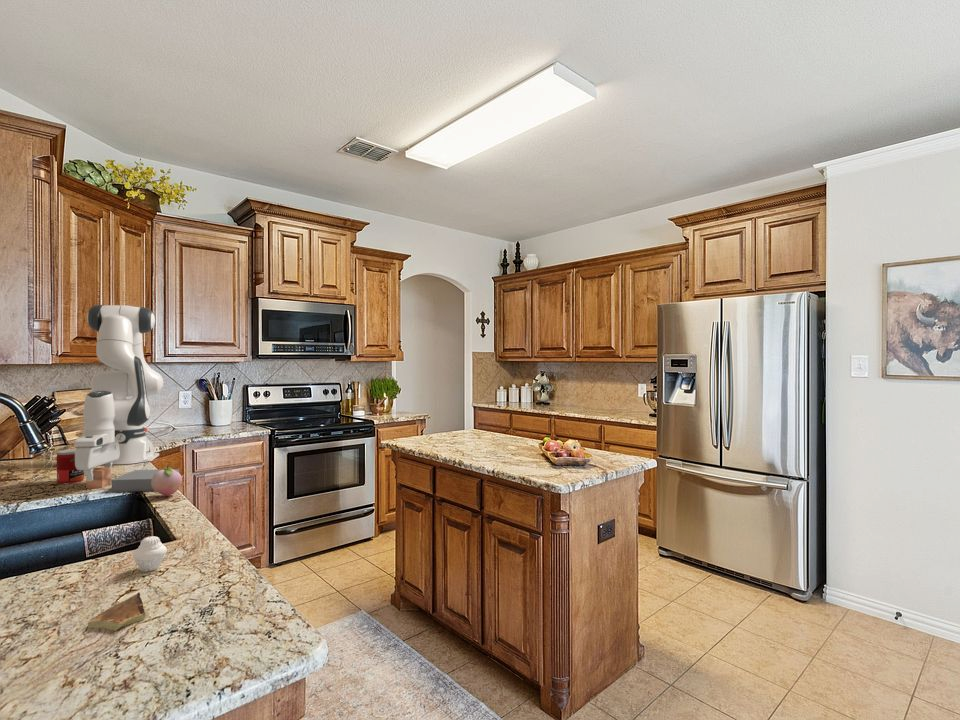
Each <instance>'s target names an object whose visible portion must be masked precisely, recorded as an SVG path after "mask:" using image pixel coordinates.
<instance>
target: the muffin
mask: <svg viewBox="0 0 960 720" xmlns="http://www.w3.org/2000/svg"><path fill="white" fill-rule="evenodd" d="M167 552H168V549H167V547H166V545H164V544H163V543H162V541H161V539H160V537H158V536H154V535H151V536H147V537H144V538H142V540H140V545H139V546H138V548H136V549H135V550H134V552H133V554H132V557H133V559H134V562H135V564H136V565H137V567H138V568H139V569H140V571H141V572H143V573H144V572H152V571H155V570H158V569H159V568H160V566H161V564H162V563H163V561H164V559H165V557H166V554H167Z"/></svg>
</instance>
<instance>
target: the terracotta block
mask: <svg viewBox="0 0 960 720" xmlns="http://www.w3.org/2000/svg"><path fill="white" fill-rule="evenodd" d="M111 469H112V467H111V468H104V467H94V468H93V471H92V472H93V475H95V480H93V481H87V476H86V475H85V480H86V481H85V482H86V483H85V484H86V485H85V486H86V487H85V488H87V489H103V488H106V487H108V486H111V477H112V476H111Z"/></svg>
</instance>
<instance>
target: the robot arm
mask: <svg viewBox="0 0 960 720" xmlns="http://www.w3.org/2000/svg"><path fill="white" fill-rule="evenodd" d="M86 321H87V324H88V327H89V328H90V329H91V330H93V331H95V332H97V339H96V345H95V346H96V347H95V348H96V351H95V352H96V357H97V359H98V360H99V361H100V362H101V363H102V364H104V365H106V366H107V367H109V368H112V369H115V370H109V371H102V372H97V373H96V374H94V375H93V376H92V378H91V381H90V388H91V391H90V392H88V393H87V394H86V395H85V398H84V403H83V412H82V413H83V414H82V415H83V416H82V418H83V420H84V422H83V423H84V425H83V429H82V434H81V435H80V436H79V437H78V438H76V439H75V440H74V443H73V447H75V449H76V450H75V467H76V469H77V470H84V476H85V477H86V476H87V481H93V480H95V475H93V472H92V471H93V469H94V468H98V467H101V466H103V465H104V467H103V468H111V469H112V466H113V465H129V464H137V463H145V462H152V461H153V460H155V459H156V458H158V457H159V456H160V453H159V452H154V443H153V442H152V441H151V440H149V438H148V437H147V436H146V433H147V432H148V431H149V428H148V427H144V424H145V423H146V422H148V421H149V419H150V417H151V409H150V405H149V398H148V396H153V395H158V394H159V393H160V392H161V391H162V390H163V387H164V383H165V382H164V379H163V376H162V375H161V374H160V373H159V372H158V371H156V370H154V369H153V368H152V367H151V366H149V364H148V363H147V361H146V359H145V354H144V343H143V342H144V341H143V340H144V339H143V334H146V333H150V332H151V331H152V330H153V328H154V327H155V323H156V317H155V315H154V312H153V310H151V308H148V307H143V306H141V307H139V306H133V305H124V304H122V305H117V304H113V305H111V304H109V305H107V304H106V305H104V304H96V305H93V306H91V307H90V308H89V309H88V312H87V314H86ZM128 397H130V398H128Z"/></svg>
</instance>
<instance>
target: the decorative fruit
mask: <svg viewBox="0 0 960 720" xmlns="http://www.w3.org/2000/svg"><path fill="white" fill-rule="evenodd" d="M160 470H161V471H158V472H157V473H156V474H155V475H154V476H153V478H152V481H151V485H152V488H153V489H154V490H155V491H154V492H156V493H158V494H160V495H163V496H166V498H167V497H169V496H172V495H174V494H175V493H176V492H177V491H178V490H179V488H180V487H181V485H182V483H183V477H182V474H180V471H179V472H177V471H175V470H173V468H172V467H169V465H167V466H166V467H164V468H163V469H160Z"/></svg>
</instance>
